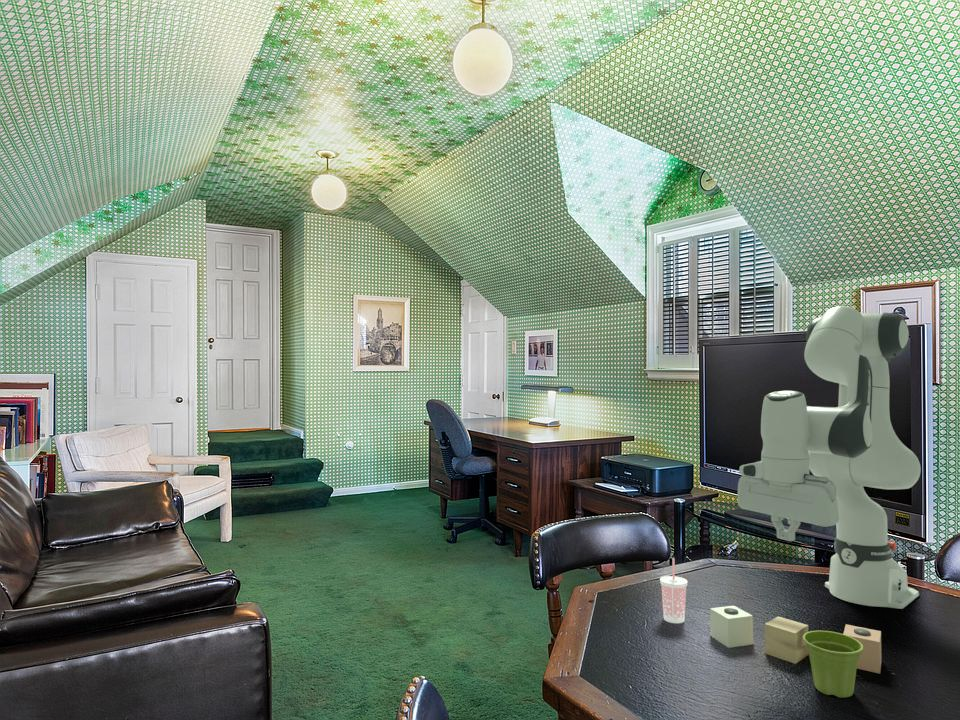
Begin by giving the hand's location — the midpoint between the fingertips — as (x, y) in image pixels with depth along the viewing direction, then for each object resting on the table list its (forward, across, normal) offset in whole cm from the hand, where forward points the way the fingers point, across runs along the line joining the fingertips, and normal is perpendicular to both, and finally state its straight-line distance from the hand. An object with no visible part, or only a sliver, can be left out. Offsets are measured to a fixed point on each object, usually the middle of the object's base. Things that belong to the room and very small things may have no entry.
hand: (785, 539), depth 127 cm
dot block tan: (+23, -10, -9) cm, 27 cm away
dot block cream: (+23, +10, +4) cm, 25 cm away
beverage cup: (+23, +24, +6) cm, 34 cm away
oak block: (+23, 0, 0) cm, 23 cm away
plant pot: (+23, -13, +6) cm, 27 cm away
